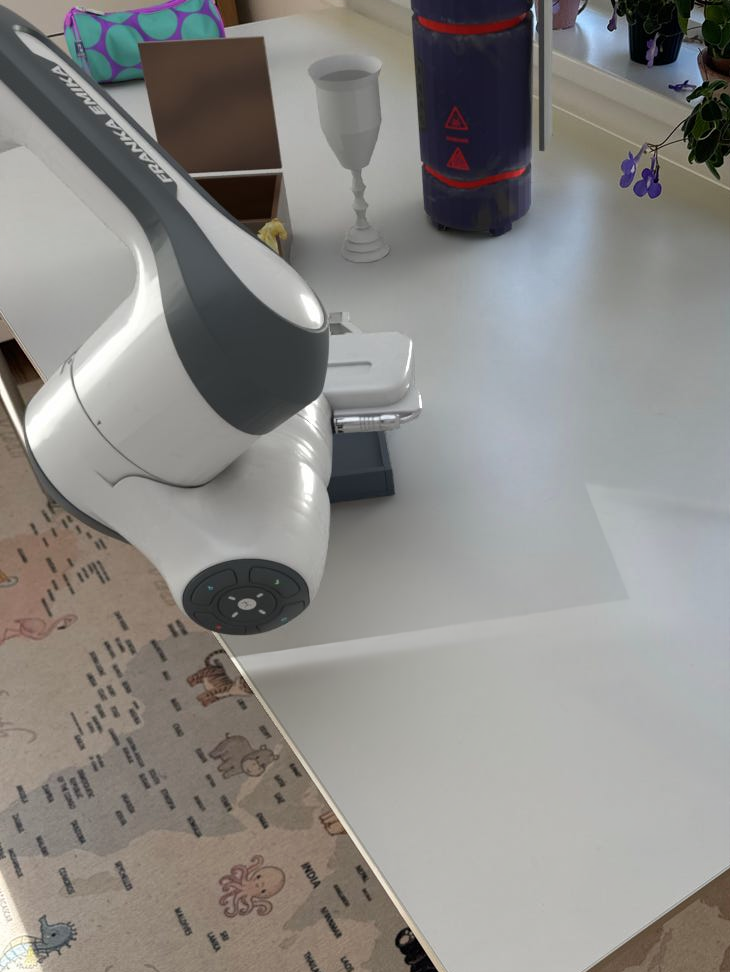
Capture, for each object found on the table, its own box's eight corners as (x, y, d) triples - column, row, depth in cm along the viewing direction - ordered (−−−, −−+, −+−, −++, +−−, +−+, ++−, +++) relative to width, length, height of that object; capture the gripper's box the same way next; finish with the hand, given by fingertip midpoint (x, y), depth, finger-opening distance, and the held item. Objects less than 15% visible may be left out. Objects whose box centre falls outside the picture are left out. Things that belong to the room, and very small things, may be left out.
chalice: (370, 273, 107) (350, 86, 94) (318, 257, 110) (291, 73, 96) (410, 244, 111) (397, 61, 98) (359, 229, 114) (339, 49, 101)
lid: (263, 36, 101) (264, 35, 102) (136, 42, 101) (138, 41, 101) (281, 168, 108) (282, 167, 109) (163, 175, 108) (165, 173, 108)
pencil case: (88, 96, 142) (66, 18, 135) (75, 76, 148) (53, -1, 141) (234, 69, 148) (220, -8, 141) (216, 50, 154) (202, -24, 147)
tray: (214, 518, 81) (207, 493, 79) (213, 427, 89) (207, 403, 87) (395, 494, 83) (392, 469, 81) (377, 407, 91) (375, 382, 89)
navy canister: (409, 234, 113) (385, -98, 91) (442, 187, 120) (426, -129, 98) (534, 248, 110) (539, -91, 88) (558, 199, 118) (569, -124, 96)
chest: (287, 283, 106) (276, 220, 101) (166, 290, 106) (150, 227, 101) (292, 232, 114) (282, 171, 109) (180, 239, 113) (165, 178, 108)
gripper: (420, 383, 67) (413, 277, 76) (97, 403, 66) (130, 293, 75) (425, 462, 71) (418, 353, 81) (124, 482, 70) (152, 369, 80)
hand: (277, 324), depth 78 cm, fingers open, 8 cm apart
